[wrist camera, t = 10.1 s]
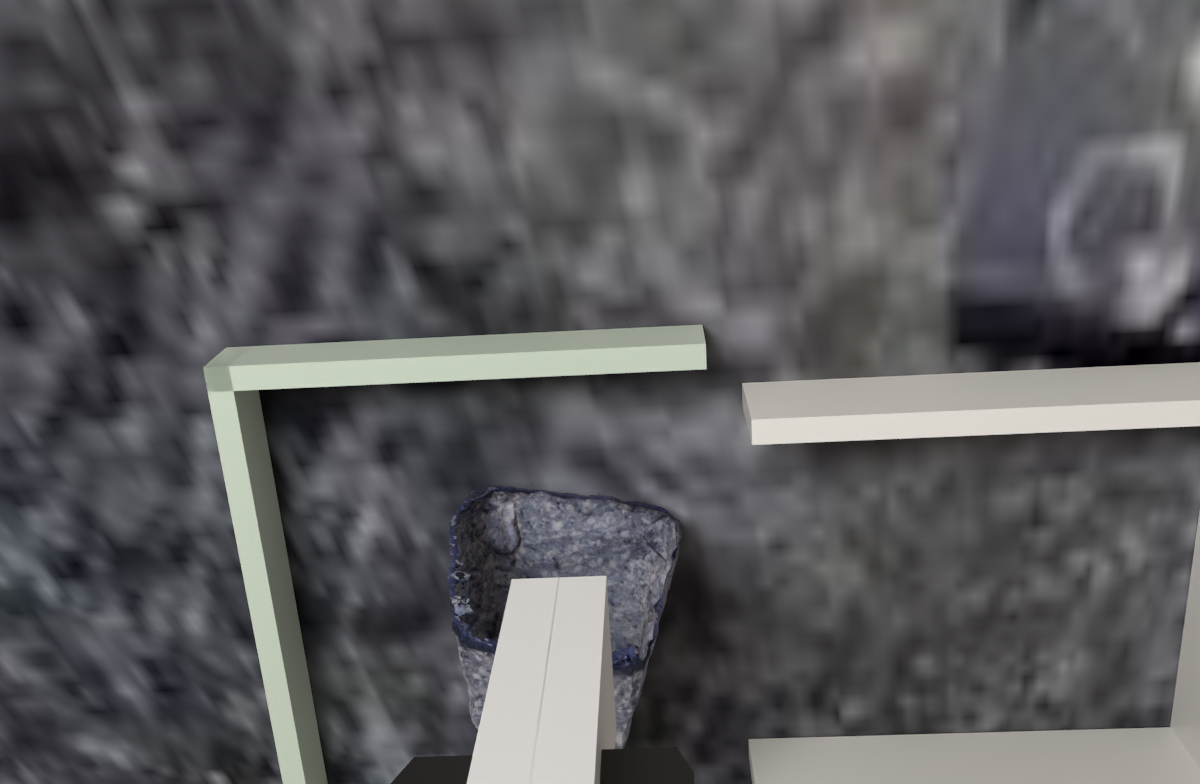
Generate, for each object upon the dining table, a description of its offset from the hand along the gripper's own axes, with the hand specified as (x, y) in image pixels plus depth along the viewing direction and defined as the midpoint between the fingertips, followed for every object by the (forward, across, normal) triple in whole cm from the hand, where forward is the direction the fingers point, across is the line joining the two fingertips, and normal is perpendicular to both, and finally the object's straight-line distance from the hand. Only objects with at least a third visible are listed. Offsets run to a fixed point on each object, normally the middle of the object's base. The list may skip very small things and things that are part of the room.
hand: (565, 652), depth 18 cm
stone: (+27, -3, -14) cm, 30 cm away
